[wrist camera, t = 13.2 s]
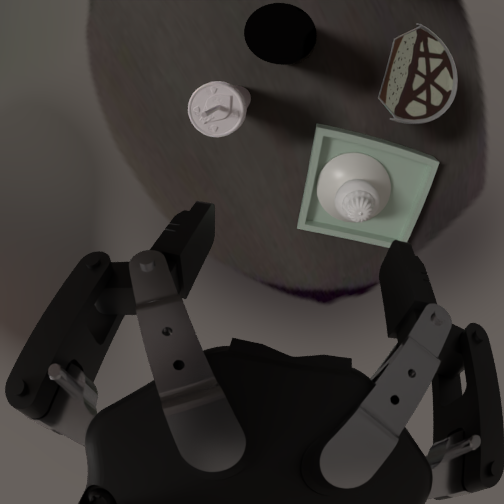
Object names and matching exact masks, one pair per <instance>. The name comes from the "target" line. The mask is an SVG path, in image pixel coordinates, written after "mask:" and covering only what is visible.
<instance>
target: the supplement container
mask: <svg viewBox="0 0 504 504" xmlns="http://www.w3.org/2000/svg"><path fill="white" fill-rule="evenodd" d="M244 36H245V41H246V43H247V45H248V47H249V49H250V50H251V51H252V52H253V53H254V54H255V55H256V56H257V57H259V58H260V59H262V60H264V61H267V62H270V63H274V64H296V63H299V62H302V61H304V60H305V59H307V58H308V57H309V56H310V55H311V53H312V52H313V50H314V46H315V43H316V28H315V25H314V23H313V21H312V19H311V18H310V16H309V15H308V14H307V13H306V12H304V11H303V10H302V9H300V8H298V7H296V6H293V5H290V4H285V3H273V4H268V5H265V6H263V7H261V8H259V9H257V10H256V11H255V12H253V14H252V15H251V16H250V17H249V18H248V20H247V22H246V25H245V29H244Z"/></svg>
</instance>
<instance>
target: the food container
mask: <svg viewBox="0 0 504 504" xmlns="http://www.w3.org/2000/svg"><path fill="white" fill-rule="evenodd" d="M416 25H418V26H419V27H417V28H415V29H413V30H410V31H408V32H406V33H404V34H402V35H400V36H398V37H396V38H394V41H393V45H392V49H391V53H390V56H389V60H388V64H387V68H386V71H385V75H384V78H383V82H382V85H381V89H380V92H379V95H378V99H379V100H380V101H381V102H382V104H383V105H384V106H385V107H386V108H387V109H388V111H389V112H390V113H391V114H392V115H393V117H394V118H390V120H393V121H396V122H400V123H406V124H422V123H427V122H430V121H433V120H434V119H436V118H438V117H440V116H441V115H442V114H443V113H445V112H446V110H447V109H448V108H449V107H450V105H451V104H452V102H453V100H454V98H455V95H456V91H457V83H458V78H457V70H456V66H455V63H454V60H453V58H452V55H451V53H450V52H449V50H448V48H447V47H446V46H445V44H444V43H443V42H442V40H441V39H440V38H439V37H438V36H437V35H436V34H434V33H433V32H432V31H431V30H429V29H428V28H426V27H425V26H423V25H421V24H418V23H417V24H416Z"/></svg>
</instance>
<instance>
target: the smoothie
mask: <svg viewBox="0 0 504 504" xmlns="http://www.w3.org/2000/svg"><path fill="white" fill-rule="evenodd" d="M250 102H251V95H250V93H249V91H248V90H247V89H246V88H244V87H242V86H236V85H231V84H229V83H226V82H221V81H215V82H210V83H207V84H204V85H202V86H201V87H199V88H198V89H197V90H196V91H195V92H194V93H193V94H192V96H191V98H190V100H189V104H188V114H189V118H190V120H191V122H192V124H193V125H194V127H195V128H196V129H197V130H198V131H200V132H201V133H203V134H205V135H207V136H211V137H223V136H226V135H229V134H231V133H233V132H234V131H236V130H237V129H238V128H239V127H240V126H241V125H242V123H243V121H244V119H245V116H246V112H247V108H248V106H249V104H250Z"/></svg>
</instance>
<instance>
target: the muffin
mask: <svg viewBox="0 0 504 504" xmlns="http://www.w3.org/2000/svg"><path fill="white" fill-rule="evenodd" d="M334 202H335V207H336V209H337V211H338V213H339V214H340V215H341V216H342V217H343V218H345V219H347V220H349V221H352V222H361V223H362V222H363V221H367V219H369V218H371V217H372V216H373V215H374V214H375V213H376V212H377V210H378V208H379V204H380V197H379V194H378V192H377V190H376V188H375V187H374V186H373V185H372V184H371V183H369V182H367V181H366V180H363V179H353V180H352V179H351V180H347V182H344V184H343V185H341V187H340V188H339V189H338V191H337V193H336V195H335V199H334Z"/></svg>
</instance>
